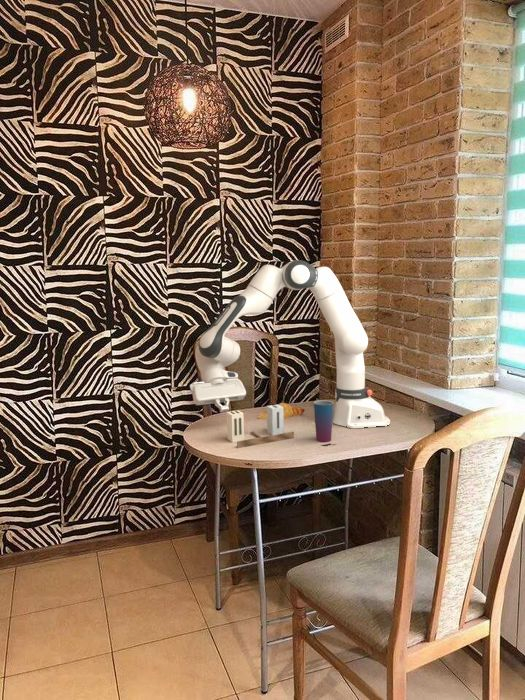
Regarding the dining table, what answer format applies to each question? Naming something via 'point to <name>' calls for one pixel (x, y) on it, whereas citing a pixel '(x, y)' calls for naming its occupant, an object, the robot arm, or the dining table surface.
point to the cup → (323, 420)
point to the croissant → (285, 411)
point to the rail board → (264, 439)
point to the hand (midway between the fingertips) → (225, 410)
